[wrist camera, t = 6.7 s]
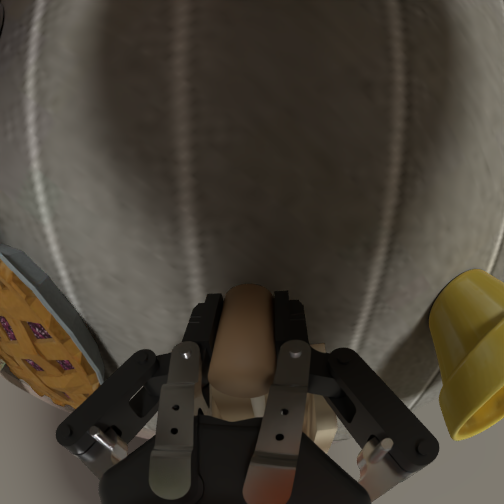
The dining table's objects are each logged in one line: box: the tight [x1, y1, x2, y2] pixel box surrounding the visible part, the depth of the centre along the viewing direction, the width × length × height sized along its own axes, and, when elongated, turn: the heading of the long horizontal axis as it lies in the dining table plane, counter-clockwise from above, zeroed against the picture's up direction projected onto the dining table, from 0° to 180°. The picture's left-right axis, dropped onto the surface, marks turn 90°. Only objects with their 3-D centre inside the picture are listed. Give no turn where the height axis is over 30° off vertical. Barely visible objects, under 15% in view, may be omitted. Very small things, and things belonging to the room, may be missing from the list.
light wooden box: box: [212, 343, 338, 454], centre depth 20 cm, size 20×9×8 cm, turn 6°
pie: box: [0, 244, 104, 409], centre depth 19 cm, size 22×22×5 cm
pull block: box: [208, 284, 277, 417], centre depth 17 cm, size 24×6×6 cm, turn 6°
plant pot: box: [429, 269, 504, 441], centre depth 12 cm, size 10×10×10 cm
